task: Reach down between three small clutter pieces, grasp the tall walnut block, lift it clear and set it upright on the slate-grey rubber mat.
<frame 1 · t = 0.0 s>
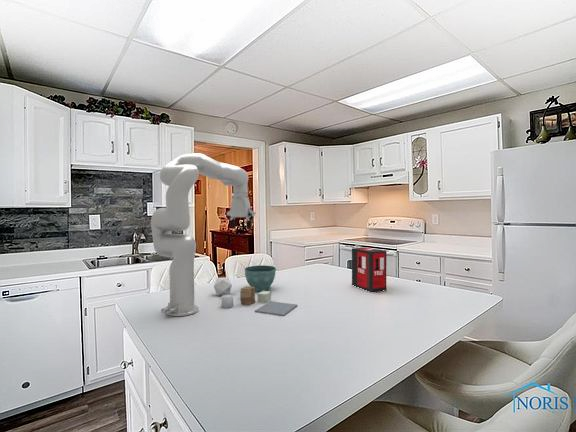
hand: (240, 228, 173), 31 cm above the kitchen island, fingers open, 9 cm apart
flower pot: (260, 289, 168), on the kitchen island
walnut block: (248, 303, 143), on the kitchen island
slate mat: (276, 308, 135), on the kitchen island
sage block: (264, 301, 147), on the kitchen island
dusty blue cube: (246, 298, 152), on the kitchen island
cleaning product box: (368, 288, 168), on the kitchen island
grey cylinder: (227, 306, 139), on the kitchen island
die: (222, 294, 158), on the kitchen island
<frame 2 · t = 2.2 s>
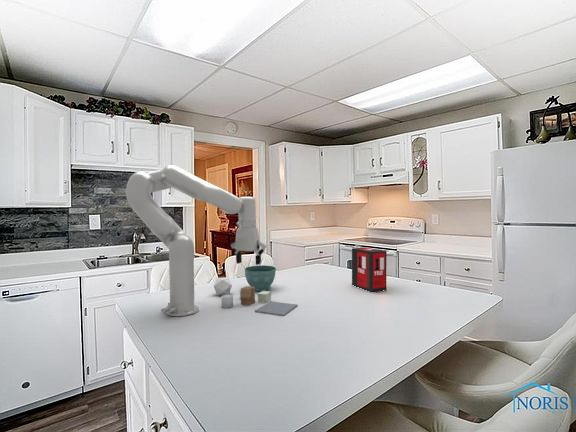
hand: (248, 263, 143), 18 cm above the kitchen island, fingers open, 9 cm apart
nothing on the kitchen island moved.
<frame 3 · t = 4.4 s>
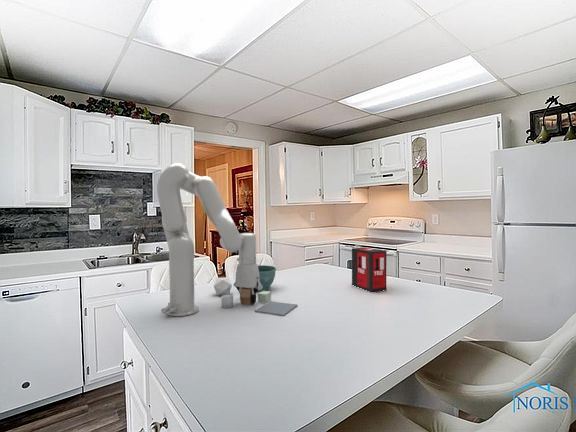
hand: (248, 301, 143), 1 cm above the kitchen island, fingers closed on walnut block, 4 cm apart
walnut block: (248, 303, 143), on the kitchen island, touching gripper
everything else where it was.
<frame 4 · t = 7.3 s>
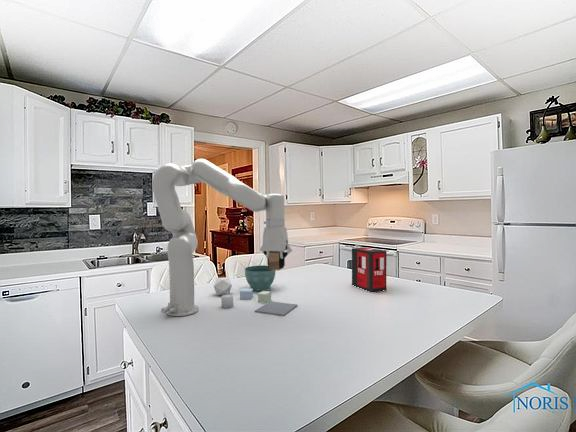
hand: (276, 267, 135), 17 cm above the kitchen island, fingers closed on walnut block, 4 cm apart
walnut block: (276, 268, 135), point 17 cm above the kitchen island, touching gripper
everything else where it was.
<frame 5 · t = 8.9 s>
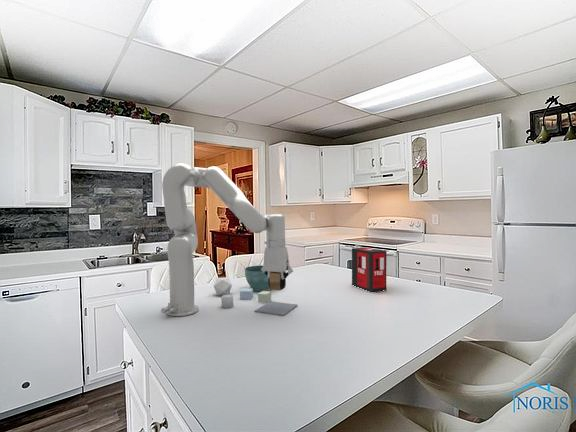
hand: (277, 287, 135), 9 cm above the kitchen island, fingers closed on walnut block, 4 cm apart
walnut block: (277, 288, 135), point 8 cm above the kitchen island, touching gripper
everything else where it was.
when the fingers open (3 cm above the kitchen island, at t = 10.4 s): walnut block drops 2 cm, resting on slate mat.
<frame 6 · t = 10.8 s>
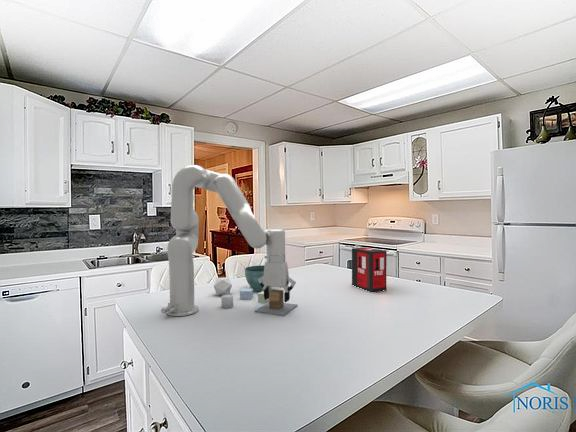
hand: (276, 299, 135), 4 cm above the kitchen island, fingers open, 8 cm apart
walnut block: (276, 307, 135), point 1 cm above the kitchen island, touching slate mat
everything else where it was.
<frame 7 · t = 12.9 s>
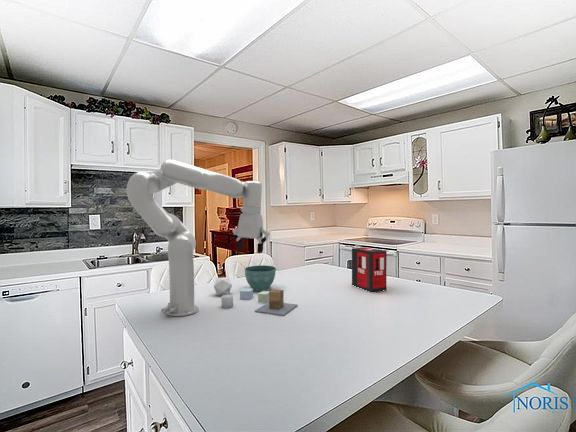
hand: (249, 251, 136), 24 cm above the kitchen island, fingers open, 9 cm apart
nothing on the kitchen island moved.
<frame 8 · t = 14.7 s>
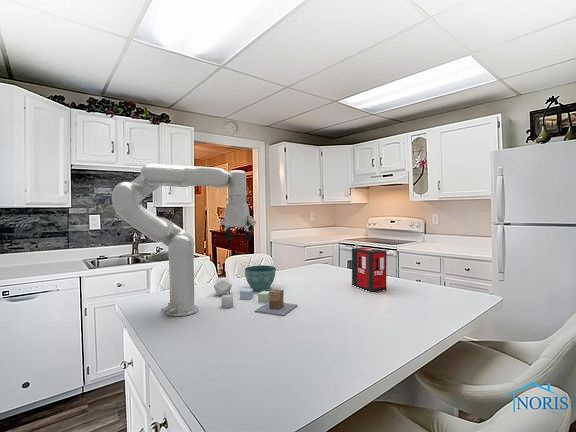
hand: (237, 240, 137), 28 cm above the kitchen island, fingers open, 9 cm apart
nothing on the kitchen island moved.
at the end: walnut block inside the target area on the slate mat (0.1 cm from its centre), point 0.6 cm above the slate mat's base; walnut block tilted 0°; the gripper is holding nothing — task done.
